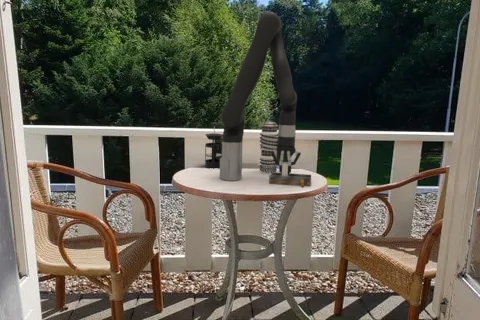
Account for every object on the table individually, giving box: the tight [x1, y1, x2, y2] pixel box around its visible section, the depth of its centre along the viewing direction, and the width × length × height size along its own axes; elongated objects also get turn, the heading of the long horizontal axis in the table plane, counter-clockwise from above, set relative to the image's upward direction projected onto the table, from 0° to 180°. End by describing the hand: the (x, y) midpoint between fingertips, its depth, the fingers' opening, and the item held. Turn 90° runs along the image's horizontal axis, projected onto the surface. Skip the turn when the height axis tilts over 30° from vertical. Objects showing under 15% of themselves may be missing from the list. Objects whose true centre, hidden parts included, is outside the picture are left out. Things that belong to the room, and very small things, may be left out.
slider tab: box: [280, 161, 290, 176], centre depth 187 cm, size 5×4×7 cm
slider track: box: [268, 171, 312, 188], centre depth 186 cm, size 18×11×4 cm, turn 79°
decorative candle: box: [259, 121, 279, 176], centre depth 204 cm, size 9×9×25 cm
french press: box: [204, 122, 223, 170], centre depth 215 cm, size 12×9×23 cm
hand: (284, 173), depth 187 cm, fingers closed on slider tab, 2 cm apart
